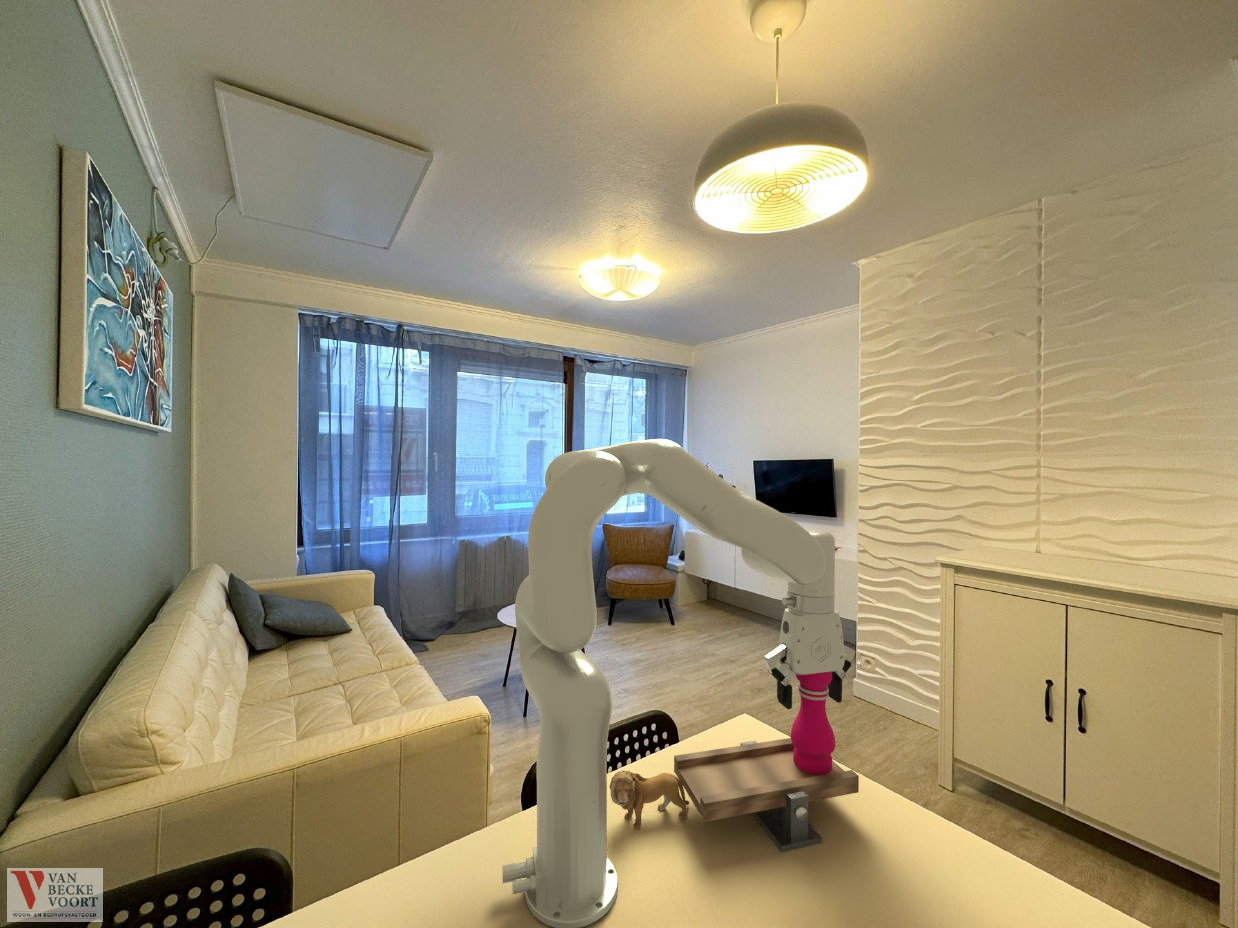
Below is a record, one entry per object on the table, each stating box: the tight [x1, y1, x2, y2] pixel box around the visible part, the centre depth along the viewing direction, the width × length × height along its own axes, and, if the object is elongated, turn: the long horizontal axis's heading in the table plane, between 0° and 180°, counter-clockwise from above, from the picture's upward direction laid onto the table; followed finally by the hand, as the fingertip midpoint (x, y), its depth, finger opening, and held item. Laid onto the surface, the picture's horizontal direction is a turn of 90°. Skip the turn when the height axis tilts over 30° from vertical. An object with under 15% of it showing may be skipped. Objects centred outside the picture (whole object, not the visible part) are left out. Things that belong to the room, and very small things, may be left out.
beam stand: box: [739, 740, 823, 852], centre depth 85 cm, size 7×17×7 cm, turn 15°
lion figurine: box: [609, 770, 690, 831], centre depth 83 cm, size 15×5×9 cm, turn 116°
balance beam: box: [673, 737, 860, 822], centre depth 85 cm, size 27×13×3 cm, turn 105°
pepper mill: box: [790, 672, 836, 775], centre depth 87 cm, size 7×7×20 cm
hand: (809, 702), depth 87 cm, fingers open, 9 cm apart
